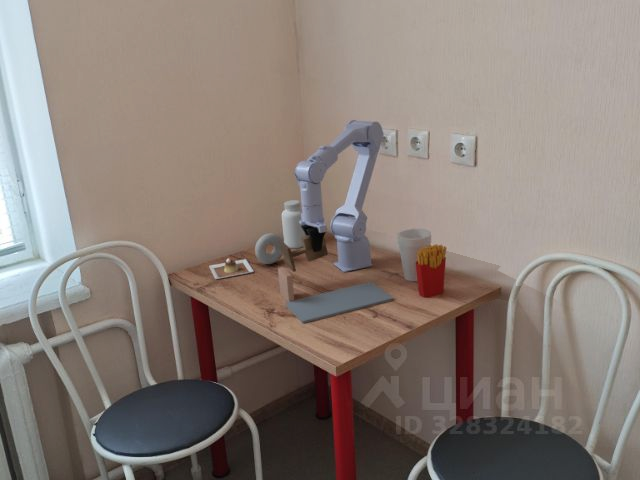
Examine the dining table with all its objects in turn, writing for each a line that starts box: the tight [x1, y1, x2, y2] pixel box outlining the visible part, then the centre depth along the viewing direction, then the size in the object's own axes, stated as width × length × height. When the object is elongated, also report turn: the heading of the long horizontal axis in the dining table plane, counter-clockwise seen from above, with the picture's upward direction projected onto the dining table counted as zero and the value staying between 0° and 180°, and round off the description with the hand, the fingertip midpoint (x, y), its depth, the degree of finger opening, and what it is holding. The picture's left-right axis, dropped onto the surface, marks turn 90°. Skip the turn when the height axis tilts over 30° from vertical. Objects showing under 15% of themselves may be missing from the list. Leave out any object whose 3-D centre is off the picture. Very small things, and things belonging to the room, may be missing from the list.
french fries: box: [415, 244, 447, 299], centre depth 173 cm, size 9×4×13 cm, turn 121°
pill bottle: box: [281, 199, 306, 249], centre depth 218 cm, size 8×8×15 cm
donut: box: [254, 232, 284, 265], centre depth 204 cm, size 10×4×10 cm, turn 122°
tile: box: [277, 266, 295, 302], centre depth 178 cm, size 2×7×8 cm, turn 23°
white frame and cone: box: [208, 257, 255, 280], centre depth 202 cm, size 12×12×5 cm
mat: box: [284, 281, 394, 324], centre depth 174 cm, size 26×13×1 cm, turn 113°
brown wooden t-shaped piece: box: [279, 235, 329, 273], centre depth 184 cm, size 12×7×7 cm, turn 112°
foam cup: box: [397, 228, 432, 282], centre depth 185 cm, size 10×9×13 cm
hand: (315, 249), depth 185 cm, fingers closed on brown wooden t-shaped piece
